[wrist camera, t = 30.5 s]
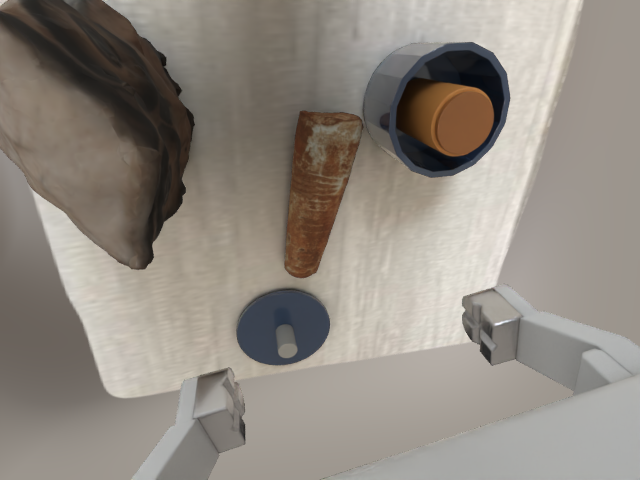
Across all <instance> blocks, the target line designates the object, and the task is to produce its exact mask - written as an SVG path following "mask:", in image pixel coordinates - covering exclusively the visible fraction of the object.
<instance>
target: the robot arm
mask: <svg viewBox="0 0 640 480" xmlns="http://www.w3.org/2000/svg"><path fill="white" fill-rule="evenodd" d="M462 306H463V307H464V308H465V312H464V313H463V315H462V322H463V326H464V329H465V331H466V333H467V335H468V336H469V338H470V339H471V340H472V342H475V343H477V344H479V345H480V352H481V353H482V354H483V356H484V357H485V358H486V359H487V360H488V362H489V363H490V364H491V365H492V366H493V365H496V364H500V363H503V362H507V361H510V360H514V359H516V360H517V361H519V362H520V363H522V364H524V365H526V366H528V367H530V368H532V369H534V370H535V371H538V372H539V373H541V374H543V375H545V376H547V377H549V378H550V379H552V380H554V381H556V382H558V383H560V384H562V385H563V386H566V387H567V388H569V389H571V390H573V391H574V393H573V396H571V397H568V398H565V399H562V400H559V401H556V402H553V403H550V404H547V405H544V406H541V407H538V408H535V409H532V410H529V411H526V412H523V413H520V414H517V415H514V416H511V417H508V418H505V419H502V420H498V421H496V422H493V423H490V424H486V425H483V426H480V427H477V428H474V429H472V430H469V431H465V432H462V433H459V434H457V435H454V436H450V437H447V438H444V439H441V440H438V441H435V442H432V443H430V444H426V445H423V446H420V447H417V448H414V449H411V450H408V451H405V452H402V453H399V454H396V455H393V456H390V457H387V458H384V459H381V460H378V461H375V462H372V463H369V464H366V465H363V466H360V467H357V468H354V469H350V470H347V471H345V472H341V473H338V474H335V475H332V476H329V477H326V478H323V479H320V480H640V347H639V346H637V345H636V344H634V343H633V342H632V341H631V340H629V339H628V338H626V337H623V336H620V335H617V334H614V333H611V332H608V331H605V330H601V329H598V328H595V327H592V326H589V325H585V324H582V323H580V322H576V321H573V320H570V319H567V318H564V317H560V316H557V315H554V314H551V313H548V312H545V311H543V312H538V310H536V309H535V308H534V307H533V306H532V305H530V304H529V303H528V302H527V301H526V300H525V299H524V298H523V297H521V296H520V295H519V294H518V293H517V292H516V291H515V290H513V289H512V288H511V287H510V286H509V285H507V284H502V285H499V286H495V287H492V288H490V289H486V290H483V291H479V292H476V293H473V294H470V295H467V296H464V297H463V299H462ZM244 406H245V404H244V398H243V394H242V390H241V388H240V386H239V384H238V383H236V382H234V373H233V371H232V369H231V368H229V367H228V368H225V369H221V370H217V371H214V372H210V373H207V374H203V375H199V376H197V377H193V378H190V379H186V380H184V381H183V383H182V385H181V391H180V397H179V403H178V409H177V415H176V421H175V425H174V426H171V427H170V428H169V429H168V431H167V432H166V433H165V435H164V436H163V437H162V438H161V440H160V441H159V443H158V444H157V445H156V447H155V448H154V449H153V450H152V452H151V453H150V455H149V456H148V457H147V459H146V460H145V461H144V463H143V464H142V465H141V467H140V468H139V469H138V471H137V472H136V473H135V475H134V476H133V477H132V479H131V480H208V478H209V475H210V473H211V471H212V469H213V467H214V465H215V463H216V461H217V459H218V457H219V453H221V452H225V451H227V450H230V449H233V448H236V447H239V446H241V445H245V424H244V422H243V420H242V416H243V415H244V413H245V407H244Z"/></svg>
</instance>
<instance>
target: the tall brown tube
mask: <svg viewBox="0 0 640 480" xmlns="http://www.w3.org/2000/svg"><path fill="white" fill-rule="evenodd" d="M493 120H494V112H493V107H492V103H491V101H490V99H489V97H488V96H487V95H486V94H485V93H484V92H483V91H482V90H480V89H477V88H474V87H468V86H463V85H457V84H452V83H446V82H441V81H435V80H430V79H424V78H417V79H413V80H411V81H409V82H408V83H407V85H406V87H405V89H404V92H403V94H402V96H401V99H400V101H399V103H398V106H397V113H396V127H397V128H398V129H399V130H400V131H402V132H403V133H405V134H407V135H409V136H411V137H413V138H415V139H416V140H418V141H420V142H422V143H424V144H426V145H428V146H430V147H432V148H433V149H435V150H437V151H439V152H441V153H443V154H445V155H448V156H462V155H465V154H468V153H470V152H471V151H473V150H475V149H476V148H478V147H479V146H480V145H481V144H482V143H483V142H484V141H485V140H486V138H487V137H488V135H489V133H490V131H491V128H492V125H493Z"/></svg>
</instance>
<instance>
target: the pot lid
mask: <svg viewBox="0 0 640 480" xmlns="http://www.w3.org/2000/svg"><path fill="white" fill-rule="evenodd" d="M329 329H330V319H329V315H328V312H327V310H326V308H325V307H324V305H323V304H322V303H321V302H320V301H319V300H318V299H316V298H315V297H313V296H312V295H310V294H307V293H304V292H300V291H294V290H284V291H277V292H272V293H269V294H267V295H264V296H262V297H260V298H258V299H257V300H255V301H254V302H252V303H251V304H250V305H249V306H248V307H247V308H246V309H245V310H244V312H243V313H242V315H241V316H240V319H239V321H238V325H237V340H238V343H239V345H240V347H241V349H242V350H243V351H244V353H245V354H246V355H248V356H249V357H250V358H252V359H254V360H255V361H258V362H260V363H264V364H269V365H287V364H292V363H295V362H298V361H301V360H303V359H305V358H307V357H309V356H310V355H312V354H313V353H315V352H316V351H317V350H318V349H319V348H320V347H321V346H322V344H323V343H324V342H325V340H326V338H327V336H328V333H329Z"/></svg>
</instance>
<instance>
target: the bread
mask: <svg viewBox="0 0 640 480" xmlns="http://www.w3.org/2000/svg"><path fill="white" fill-rule="evenodd" d="M362 130H363V125H362V120H361V119H360V117H358V116H356V115H354V114H348V113H343V112H340V113H320V112H307V111H300V115H299V119H298V124H297V129H296V135H295V143H294V154H293V164H292V179H291V189H290V201H289V212H288V223H287V236H286V254H285V269H286V271H287V272H288V273H289V274H290V275H292V276H294V277H297V278H306V277H309V276H311V275H312V274H314V273H316V272H317V270H318V267H319V263H320V261H321V257H322V255H323V252H324V250H325V247H326V244H327V242H328V238H329V235H330V232H331V230H332V227H333V224H334V221H335V217H336V214H337V211H338V208H339V206H340V203H341V200H342V196H343V193H344V190H345V187H346V185H347V183H348V179H349V176H350V173H351V168H352V165H353V162H354V159H355V155H356V152H357V149H358V146H359V143H360V138H361V134H362Z"/></svg>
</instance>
